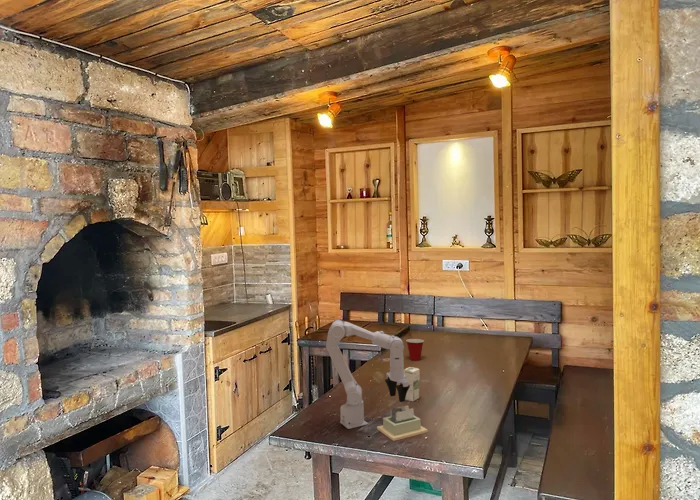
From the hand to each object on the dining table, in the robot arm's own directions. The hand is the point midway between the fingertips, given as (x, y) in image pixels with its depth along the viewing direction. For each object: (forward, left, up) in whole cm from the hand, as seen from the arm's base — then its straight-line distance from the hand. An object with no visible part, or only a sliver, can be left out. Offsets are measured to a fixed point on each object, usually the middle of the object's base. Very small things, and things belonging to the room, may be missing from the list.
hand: (397, 398), depth 218 cm
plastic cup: (+58, +74, -11) cm, 95 cm away
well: (-3, -8, -10) cm, 13 cm away
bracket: (-2, -8, -9) cm, 12 cm away
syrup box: (+20, +20, -11) cm, 31 cm away
